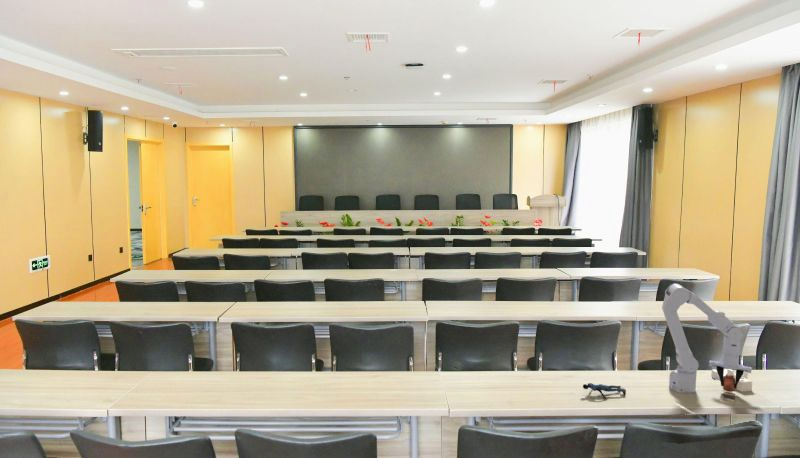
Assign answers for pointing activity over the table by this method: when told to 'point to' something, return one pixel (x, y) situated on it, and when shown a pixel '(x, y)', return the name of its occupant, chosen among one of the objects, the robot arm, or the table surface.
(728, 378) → the pawn
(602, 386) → the person figurine
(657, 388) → the table surface
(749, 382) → the die
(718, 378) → the bracket
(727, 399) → the board
